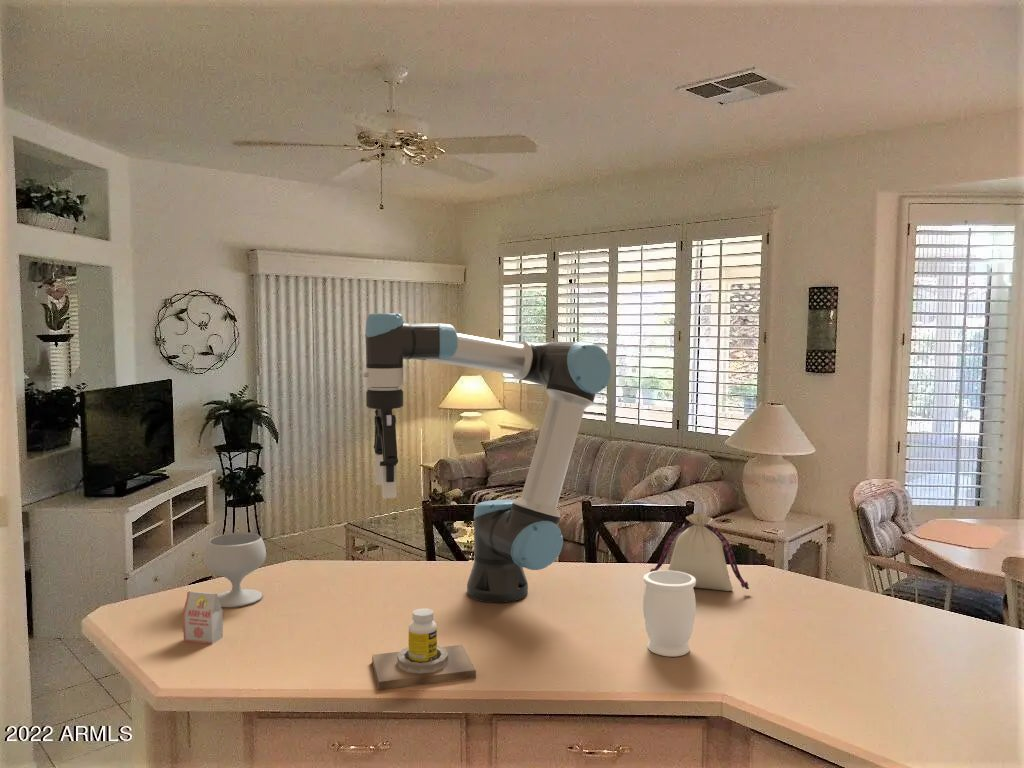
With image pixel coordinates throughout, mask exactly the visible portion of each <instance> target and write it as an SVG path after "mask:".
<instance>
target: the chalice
mask: <svg viewBox="0 0 1024 768" xmlns="http://www.w3.org/2000/svg"><path fill="white" fill-rule="evenodd" d="M203 558H204V559H203V561H204V564H205V566H206V568H207V569H208V570H209V572H211V573H213V574H215V575H218V576H221V577H223V578H225V579H227V580H228V581H230V583H231V589H230V590H226V591H222V592H220V593H216V594H217V597H218V600H219V603H220V605H221V608H237V607H243V606H247V605H252V604H254V603H257V602H258V601H260V600H262V598H263V597H264V594H263V593H262V592H261V591H259V590H256V589H252V588H251V589H250V588H242V587H241V583H242V581H243V580H244V578H245V577H246V576H248V575H249V574H251V573H253V572H254V571H256V570H258V569H259V568H261V566H263V564H264V563H265V562H266V558H267V549H266V545H265V542H264V540H263V538H262V537H261V535H260V534H258V533H255V532H243V531H242V532H231V533H224V534H220V535H217V536H214V537H212V538H210V539H209V541H208V543H207V545H206V547H205V552H204V557H203Z"/></svg>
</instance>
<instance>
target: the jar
mask: <svg viewBox="0 0 1024 768" xmlns="http://www.w3.org/2000/svg"><path fill="white" fill-rule="evenodd" d="M643 582H644V584H645V588H644V592H643V601H642V608H643V609H642V611H643V618H644V626H645V632H646V633H647V636H648V639H649V641H648V643H647V649H648V650H650V652H652V653H653V654H655V655H659V656H663V657H671V658H673V657H681V656H684V655H685V656H686V655H687V654H688V653H689V651H690V650H691V647H690V646H689V644H688V642H689V641H690V639H691V636H692V633H693V629H694V624H695V619H696V612H697V609H696V608H697V607H696V606H697V605H696V604H697V603H696V595H695V590H694V588H695V587H694V586H695V585H696V579H695V577H693V576H692V575H690V574H687V573H684V572H679V571H671V570H668V569H667V570H666V569H665V570H663V569H662V570H661V569H660V570H659V569H658V570H657V571H652V572H650V571H649V572H646V573H645V574H644V575H643Z"/></svg>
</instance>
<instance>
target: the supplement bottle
mask: <svg viewBox="0 0 1024 768" xmlns="http://www.w3.org/2000/svg"><path fill="white" fill-rule="evenodd" d="M411 618H412V621H411V622H410V623H409V625H408V647H409V657H408V658H409V661H411V662H418V663H423V662H431V661H434V660H436V659H437V646H438V625H437V623H436V621H434V610H433V609H431V608H427V607H426V608H416V609H414V610H412V617H411Z"/></svg>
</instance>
